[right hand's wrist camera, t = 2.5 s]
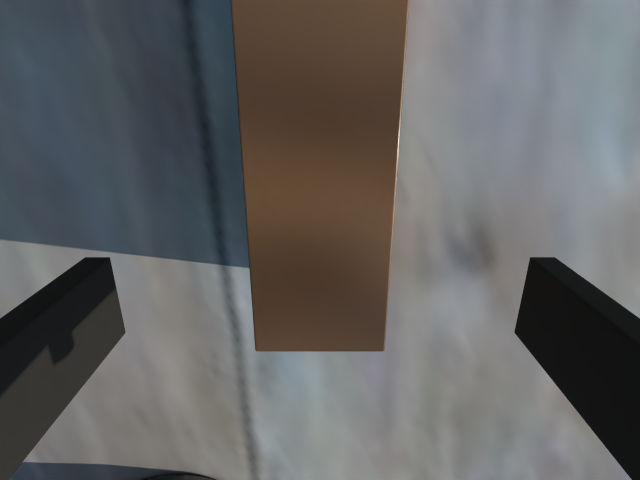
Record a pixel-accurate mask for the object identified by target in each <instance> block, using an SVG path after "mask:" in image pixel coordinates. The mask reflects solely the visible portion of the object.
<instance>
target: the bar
mask: <svg viewBox="0 0 640 480" xmlns="http://www.w3.org/2000/svg"><path fill="white" fill-rule="evenodd" d="M230 1H231V15H232V29H233V43H234V57H235V71H236V85H237V99H238V113H239V127H240V141H241V155H242V169H243V183H244V197H245V211H246V225H247V239H248V253H249V267H250V281H251V295H252V309H253V323H254V337H255V350H256V351H384V350H385V338H386V323H387V309H388V295H389V281H390V267H391V253H392V239H393V225H394V210H395V196H396V182H397V168H398V154H399V140H400V126H401V112H402V98H403V83H404V69H405V55H406V41H407V27H408V13H409V0H230Z"/></svg>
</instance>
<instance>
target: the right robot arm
mask: <svg viewBox="0 0 640 480" xmlns="http://www.w3.org/2000/svg"><path fill="white" fill-rule="evenodd" d="M124 334H125V328H124V323H123V318H122V313H121V309H120V304H119V299H118V294H117V290H116V285H115V280H114V275H113V271H112V266H111V261H110V257H85V258H84V259H82V260H81V261H80V262H78V263H77V264H75V265H74V266H73V267H71V268H70V269H69V270H67V271H66V272H64V273H63V274H62V275H60V276H59V277H57V278H56V279H55V280H53V281H52V282H50V283H49V284H48V285H46V286H45V287H44V288H42V289H41V290H39V291H38V292H37V293H35V294H34V295H32V296H31V297H30V298H28V299H27V300H25V301H24V302H23V303H21V304H20V305H19V306H17V307H16V308H14V309H13V310H12V311H10V312H9V313H7V314H6V315H5V316H3V317H2V318H0V480H8V479H9V478H10V477H11V475H12V474H13V473H14V472H15V470H16V469H17V468H18V467H19V465H20V464H21V463H22V462H23V460H24V459H25V458H26V457H27V455H28V454H29V453H30V452H31V450H32V449H33V448H34V447H35V445H36V444H37V443H38V442H39V440H40V439H41V438H42V437H43V435H44V434H45V433H46V431H47V430H48V429H49V428H50V426H51V425H52V424H53V423H54V421H55V420H56V419H57V418H58V416H59V415H60V414H61V413H62V411H63V410H64V409H65V408H66V406H67V405H68V404H69V403H70V401H71V400H72V399H73V398H74V396H75V395H76V394H77V393H78V391H79V390H80V389H81V388H82V386H83V385H84V384H85V383H86V381H87V380H88V379H89V378H90V376H91V375H92V374H93V373H94V371H95V370H96V369H97V368H98V366H99V365H100V364H101V363H102V361H103V360H104V359H105V357H106V356H107V355H108V354H109V352H110V351H111V350H112V349H113V347H114V346H115V345H116V344H117V342H118V341H119V340H120V339H121V337H122V336H123V335H124ZM515 334H516V335H517V336H518V337H519V339H520V340H521V341H522V342H523V344H524V345H525V346H526V347H527V349H528V350H529V351H530V352H531V354H532V355H533V356H534V357H535V359H536V360H537V361H538V363H539V364H540V365H541V366H542V368H543V369H544V370H545V371H546V373H547V374H548V375H549V376H550V378H551V379H552V380H553V381H554V383H555V384H556V385H557V386H558V388H559V389H560V390H561V391H562V393H563V394H564V395H565V396H566V398H567V399H568V400H569V401H570V403H571V404H572V405H573V406H574V408H575V409H576V410H577V411H578V413H579V414H580V415H581V416H582V418H583V419H584V420H585V421H586V423H587V424H588V425H589V426H590V428H591V429H592V430H593V431H594V433H595V434H596V435H597V437H598V438H599V439H600V440H601V442H602V443H603V444H604V445H605V447H606V448H607V449H608V450H609V452H610V453H611V454H612V455H613V457H614V458H615V459H616V460H617V462H618V463H619V464H620V465H621V467H622V468H623V469H624V470H625V472H626V473H627V474H628V475H629V477H630V478H631V479H632V480H640V318H638V317H637V316H635V315H634V314H633V313H631V312H630V311H628V310H627V309H626V308H624V307H623V306H621V305H620V304H619V303H617V302H616V301H615V300H613V299H612V298H610V297H609V296H608V295H606V294H605V293H603V292H602V291H601V290H599V289H598V288H596V287H595V286H594V285H592V284H591V283H590V282H588V281H587V280H585V279H584V278H583V277H581V276H580V275H578V274H577V273H576V272H574V271H573V270H571V269H570V268H569V267H567V266H566V265H565V264H563V263H562V262H560V261H559V260H558V259H556V258H555V257H530V261H529V266H528V271H527V275H526V280H525V285H524V290H523V294H522V299H521V304H520V309H519V313H518V318H517V323H516V328H515ZM146 480H214V479H210V478H205V477H200V476H191V475H167V476H159V477H154V478H150V479H146Z"/></svg>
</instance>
